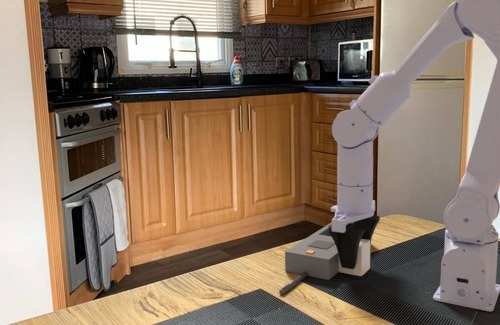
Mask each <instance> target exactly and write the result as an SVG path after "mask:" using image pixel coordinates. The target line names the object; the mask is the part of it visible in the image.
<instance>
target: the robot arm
mask: <svg viewBox="0 0 500 325" xmlns="http://www.w3.org/2000/svg"><path fill="white" fill-rule="evenodd" d="M474 35H476V36H478V37H479V38H480V39H482V40H483V41H484V43H485V45H486V46H487V47H488V49H489V50H490V51H491V53H492V54H493V56H494V57H495V58H496V65H495V69H494V72H493V75H492V79H491V82H490V85H489V88H488V93H487V96H486V100H485V103H484V106H483V111H482V114H481V117H480V120H479V124H478V128H477V129H476V130H477V131H476V134H475V138H474V140H473V141H474V142H473V144H472V149H471V151H470V154H469V158H468V162H467V166H466V168H465V172H464V174H463V176H462V178H461V181H460V183H459V185H458V188H457V192H456V195H455V196H454V198H453V199H452V200H451V201H450V202H449V203H448V204H447V205H446V207H445V209H444V211H443V214H442V218H443V220H442V221H443V224H444V228H445V230H444V248H443V249H444V251H443V256H442V258H441V262H440V264H441V265H440V284H439V287H437V290H436V291H435V292H434V294H433V295H432V300H434V301H437V302H442V303H447V304H452V305H455V306H461V307H465V308H470V309H475V310H481V311H486V312H493V311H494V309H495V306H496V303H497V300H498V297H499V295H500V284H498V283H497V269H498V268H497V267H498V248H499V232H498V231H497V230H496V229H497V228H495V227H494V225H492V224H493V222H494V221H495V220H496V219H497V217H498V216H499V213H500V200H499V196H498V195H499V190H500V0H455V1H453V2H452V3H451V4H450V5H449V6H447V8H446V9H445V10H444V11H443V12H442V14H441V15H440V16H439V17H438V19H437V20H436V21H435V23H433V25H432V26H431V27H430V28H429V29H428V30H427V32H426V33H425V34H424V35H423V36H422V37H421V38H420V40H419V41H418V42H417V43H416V44H415V45H414V47H413V48H412V49H411V50H410V51H409V53H408V54H407V55H406V56H405V58H404V59H403V60H402V61H401V62H400V63H399V65H398V66H397V67H396V68H395V69H394V70H393V71H382V72H380V74H379V75H372V76H371V78H370V79H369V80H368V84H370V85H369V86H368V87H367V88H366V89H365V91H363V93H361V95H360V96H359V97H358V98H357V99H353V100H352V101H350V102H349V106H350V109H347V110H342V111H340V112H339V113H337V114H336V117H335V118H334V119H333V122H332V123H331V124H332V125H331V134H332V136H333V139H334V141H335V142H336V143H337V157H336V158H337V160H336V161H337V166H336V169H337V171H336V173H337V174H336V175H337V176H336V177H337V181H336V182H337V188H336V190H337V192H336V194H337V198H336V200H337V202H336V203H337V204H336V205H332V206H331V207H330V212H332V213H334V217H333V218H332V219H331V222H332V224H331V225H329V226H328V231H329V233H330V235H331V236H332V238H333V240H334V242H335V245H336V248H337V251H338V255H339V259H340V263H341V266H342V267H343V268H348V269H354V268H355V265H356V261H357V254H358V247H359V243H360V240H361V239H366V240H370V243H371V244H372V239H373V235H374V233H375V230H376V228H377V226H378V224H379V222H380V218H381V217H380V215H377V214H376V215H375V211H376V200H374V198H373V197H374V195H373V194H374V189H373V188H374V184H373V183H374V140H375V139H376V138H377V137H378V136H379V132H380V128H381V127H383V126H384V125H385V124H386V123H387V122H388V121H389V120H390V119H391V117H392V116H394V115H395V114H396V112H397V111H398V110H400V108H401V107H403V105H404V104H405V103H406V102H407V101H408V100H409V99H410V97H411V85H412V84H413V83H414V82H415V81H416V80H418V78H419V77H421V75H422V74H423V73H424V72H425V71H426V70H428V69H429V68H430V66H432V65H433V64H434V63H435V62H436V61H437V60H438V59H439V58H440V57H441V56H442V55H443V54H444V53H445V52H446V51H447V50H448V49H449V48H450V47H452V46H454V45H458V44H460V43H464V42H468V41H470V40H473V39H475V36H474Z"/></svg>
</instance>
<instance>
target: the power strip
mask: <svg viewBox="0 0 500 325" xmlns="http://www.w3.org/2000/svg"><path fill="white" fill-rule="evenodd" d="M331 224H332V221H331V222H330V223H328V224H326V225H325V226H324V227H321V228H320V229H319V230H317V231H316V232H314V233H311V235H309V236H308V237H306V238H304V239H303V240H300V242H298V243H296V244H295V245H293V246H292V247H290V248H289V249H287V250H285V251H284V266H285V268H284V270H285V272H286V273H287V272H288V273H292V274H293V273H294V274H297V275H298V276H297V277H295V278H294V279H293V280H291V281H290V282H288V283H287V284H285V285H284V286H283V287H282V288H281V289H279V291H278V293H279V295H284V294H286V293H287V292H288V291H289V290H291V289H292V288H293V287H294V286H296V285H297V284H299V283H300V282H301V281H303V280H304V279H305V278H307V277H311V278H317V279H322V280H326V281H330V279H332V278H334V277H335V276H336V275H337V274H338V273H340V272H339V255H338V251H337V248H336V245H335V242H334V240H333V238H332V236H331V235H330V233H329V231H328V226H329V225H331ZM371 245H372V242H371V243H370V246H371Z"/></svg>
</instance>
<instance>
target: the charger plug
mask: <svg viewBox="0 0 500 325" xmlns="http://www.w3.org/2000/svg"><path fill="white" fill-rule="evenodd" d="M370 269H371V245H370V240H366V239H361V240H360V243H359V247H358V254H357V261H356V265H355V268H354V269H348V268H343V267H342V266H341V263H340V259H339V272H338V273H342V274H343V273H344V274H348V275H352V276H357V277H362V276H363V275H365V274H366V273H367V272H368V271H369V270H370Z"/></svg>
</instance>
